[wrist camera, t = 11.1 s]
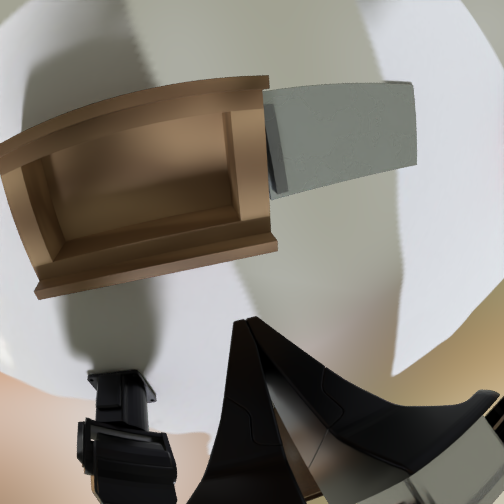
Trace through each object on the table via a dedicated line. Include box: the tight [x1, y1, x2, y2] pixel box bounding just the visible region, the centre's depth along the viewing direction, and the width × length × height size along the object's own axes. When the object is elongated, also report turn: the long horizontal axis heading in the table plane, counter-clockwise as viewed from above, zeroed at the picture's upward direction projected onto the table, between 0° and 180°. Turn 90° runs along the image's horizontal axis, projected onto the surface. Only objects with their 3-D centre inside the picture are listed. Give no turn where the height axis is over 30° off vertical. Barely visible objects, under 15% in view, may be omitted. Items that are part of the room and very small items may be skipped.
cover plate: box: [263, 83, 417, 200], centre depth 18 cm, size 8×15×2 cm, turn 102°
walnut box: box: [0, 75, 278, 300], centre depth 14 cm, size 10×16×5 cm, turn 94°
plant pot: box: [274, 408, 323, 502], centre depth 32 cm, size 15×15×16 cm
